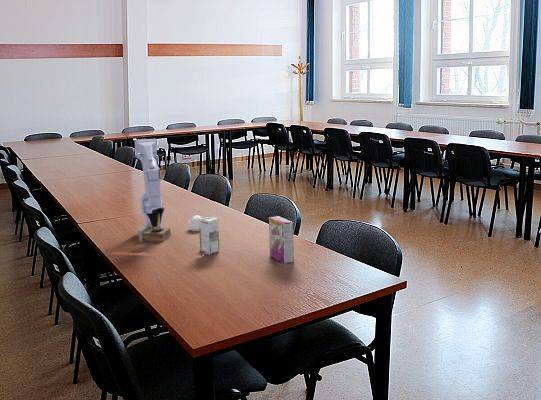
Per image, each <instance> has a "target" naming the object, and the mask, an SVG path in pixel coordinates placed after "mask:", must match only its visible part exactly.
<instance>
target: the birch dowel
mask: <svg viewBox="0 0 541 400" xmlns="http://www.w3.org/2000/svg"><path fill="white" fill-rule="evenodd" d="M152 228H153V230H160V229H161V225H160V214H159V216H158V225H157V227H152Z"/></svg>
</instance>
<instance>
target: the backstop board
mask: <svg viewBox="0 0 541 400" xmlns="http://www.w3.org/2000/svg"><path fill="white" fill-rule="evenodd" d="M150 228H151V224H148V225H146V226H145V225H144V226H143V227H141V228H140V229H139V230H138V242H139V243H141V242H145V241H144V240H143V233H144V232H146V231H147V230H149V229H150Z"/></svg>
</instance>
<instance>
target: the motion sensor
mask: <svg viewBox="0 0 541 400" xmlns="http://www.w3.org/2000/svg"><path fill="white" fill-rule="evenodd" d="M203 218H204V217H203V216H201V215H199V214H198V215H197V214H196V215H193V216H192V217H190V218H189V220H188V221H187V225H188V228H189V230H190V231H193V232H200V230H199V219H203Z"/></svg>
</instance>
